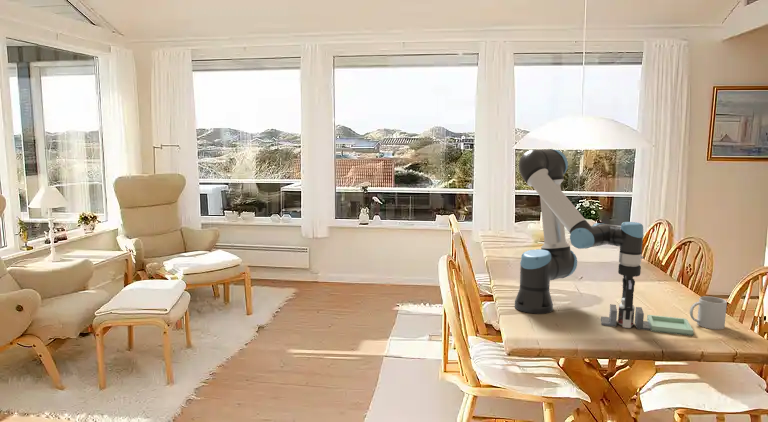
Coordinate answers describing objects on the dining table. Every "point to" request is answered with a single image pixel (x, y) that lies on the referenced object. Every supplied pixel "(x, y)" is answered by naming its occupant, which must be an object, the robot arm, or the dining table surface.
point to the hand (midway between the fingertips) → (625, 323)
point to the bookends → (638, 318)
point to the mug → (710, 312)
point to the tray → (670, 325)
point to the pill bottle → (620, 314)
